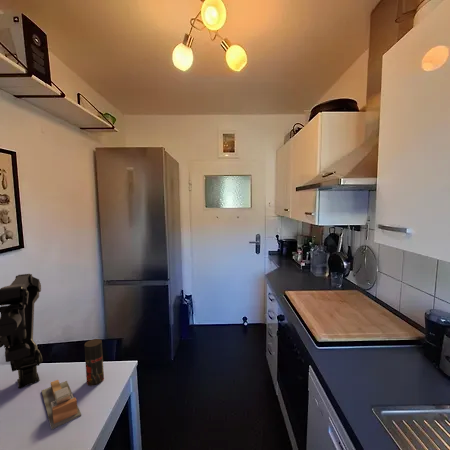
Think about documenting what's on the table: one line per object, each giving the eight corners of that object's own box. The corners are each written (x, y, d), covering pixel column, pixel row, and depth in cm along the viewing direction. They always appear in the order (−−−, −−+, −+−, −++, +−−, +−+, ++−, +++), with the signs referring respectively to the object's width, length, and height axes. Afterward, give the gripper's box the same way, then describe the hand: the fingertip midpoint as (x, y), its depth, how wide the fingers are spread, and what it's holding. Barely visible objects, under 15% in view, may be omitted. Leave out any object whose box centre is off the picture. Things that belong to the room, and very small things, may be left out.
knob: (51, 411, 87) (50, 393, 86) (72, 402, 90) (71, 384, 90) (53, 418, 83) (52, 400, 83) (75, 409, 87) (74, 391, 87)
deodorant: (105, 381, 102) (103, 343, 101) (87, 388, 99) (85, 348, 98) (102, 373, 107) (100, 337, 106) (85, 379, 104) (83, 341, 103)
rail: (41, 392, 97) (40, 378, 97) (66, 382, 103) (66, 369, 102) (51, 429, 81) (50, 413, 80) (81, 415, 86) (80, 400, 85)
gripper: (-17, 322, 93) (-13, 365, 94) (-19, 342, 78) (-14, 393, 80) (23, 313, 100) (26, 353, 101) (28, 330, 86) (32, 377, 87)
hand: (18, 368), depth 92 cm, fingers closed
